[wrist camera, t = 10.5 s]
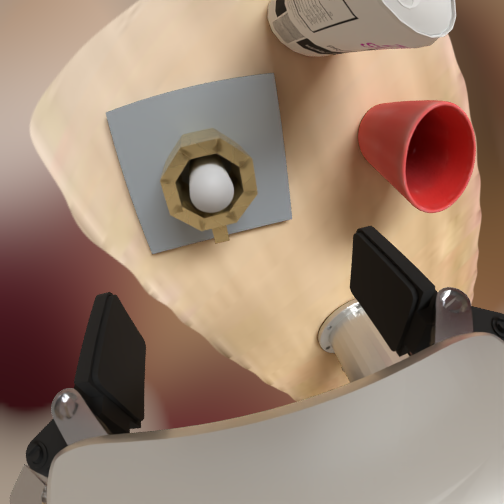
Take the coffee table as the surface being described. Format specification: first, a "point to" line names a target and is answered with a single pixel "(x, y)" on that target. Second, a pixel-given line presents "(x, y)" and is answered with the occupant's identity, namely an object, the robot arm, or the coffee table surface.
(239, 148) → the cup
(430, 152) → the flower pot
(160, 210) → the post base
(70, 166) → the coffee table surface
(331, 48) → the supplement can
